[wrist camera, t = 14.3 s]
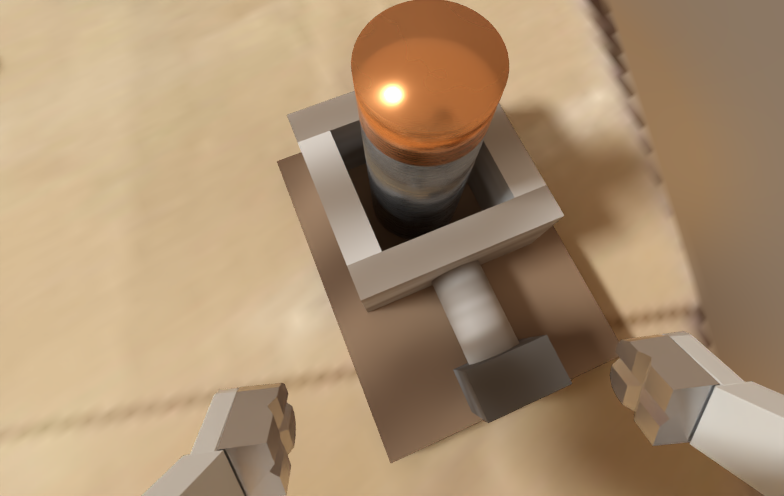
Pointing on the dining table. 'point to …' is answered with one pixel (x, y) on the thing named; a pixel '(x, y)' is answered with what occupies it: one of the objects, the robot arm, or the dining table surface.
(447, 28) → the orange topped cylinder
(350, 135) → the shaft base
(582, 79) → the dining table surface
